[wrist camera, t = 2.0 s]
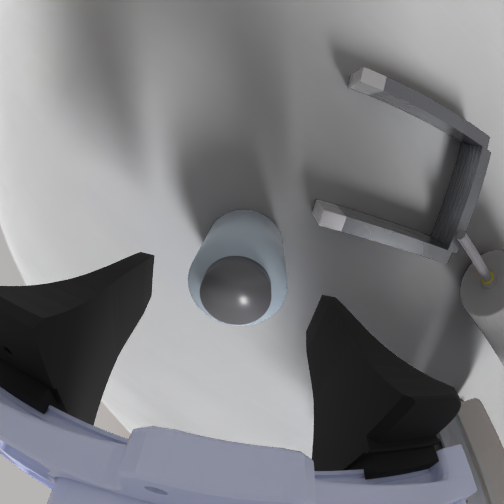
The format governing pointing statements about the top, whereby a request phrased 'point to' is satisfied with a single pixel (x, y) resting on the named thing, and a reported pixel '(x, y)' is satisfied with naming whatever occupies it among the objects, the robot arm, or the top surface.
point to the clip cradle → (460, 189)
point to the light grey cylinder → (240, 270)
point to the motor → (485, 292)
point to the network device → (477, 450)
